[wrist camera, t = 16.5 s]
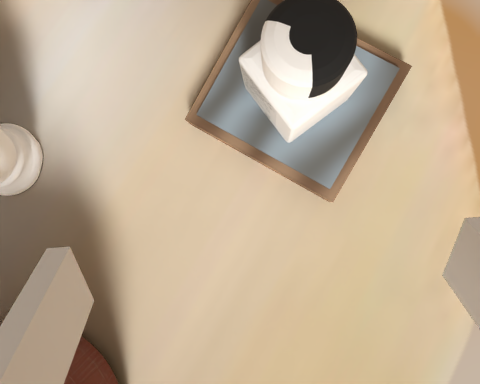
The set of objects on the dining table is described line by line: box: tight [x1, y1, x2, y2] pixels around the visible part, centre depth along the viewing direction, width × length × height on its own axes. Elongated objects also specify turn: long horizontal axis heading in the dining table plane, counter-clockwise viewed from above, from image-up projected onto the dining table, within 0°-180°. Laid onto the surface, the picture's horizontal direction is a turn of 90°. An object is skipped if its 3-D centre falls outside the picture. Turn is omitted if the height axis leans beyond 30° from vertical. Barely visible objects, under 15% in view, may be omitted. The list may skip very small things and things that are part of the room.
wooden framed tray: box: [185, 0, 412, 202], centre depth 37 cm, size 18×16×3 cm
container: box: [239, 0, 367, 143], centre depth 30 cm, size 8×8×13 cm
